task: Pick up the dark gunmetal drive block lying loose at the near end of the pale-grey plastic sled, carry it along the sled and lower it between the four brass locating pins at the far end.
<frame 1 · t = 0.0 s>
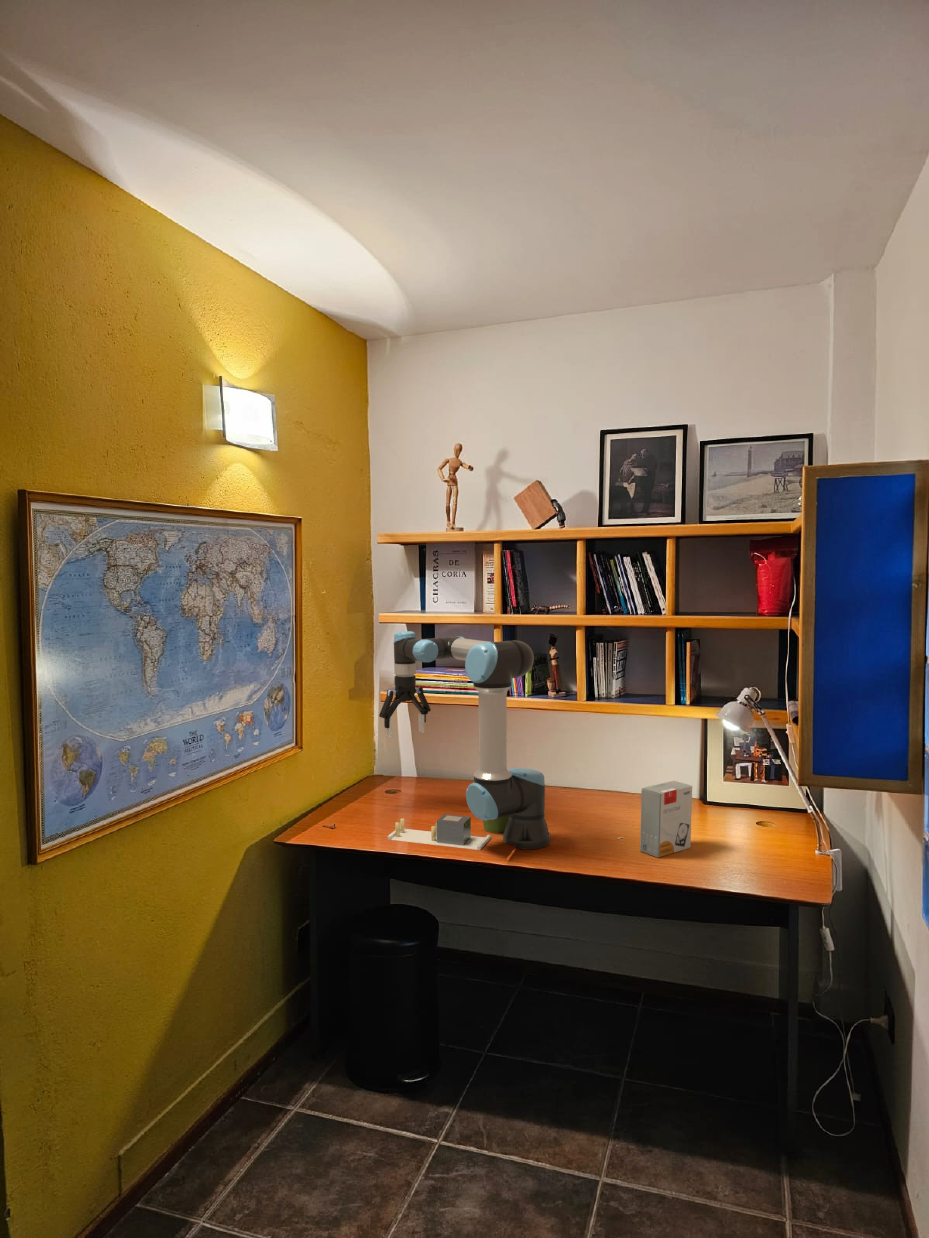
hand: (405, 734, 284), 28 cm above the table, fingers open, 13 cm apart
drive: (453, 840, 253), point 1 cm above the table, touching tray
hard drive box: (665, 850, 247), on the table
tray: (439, 841, 255), on the table
plant pot: (495, 832, 264), on the table
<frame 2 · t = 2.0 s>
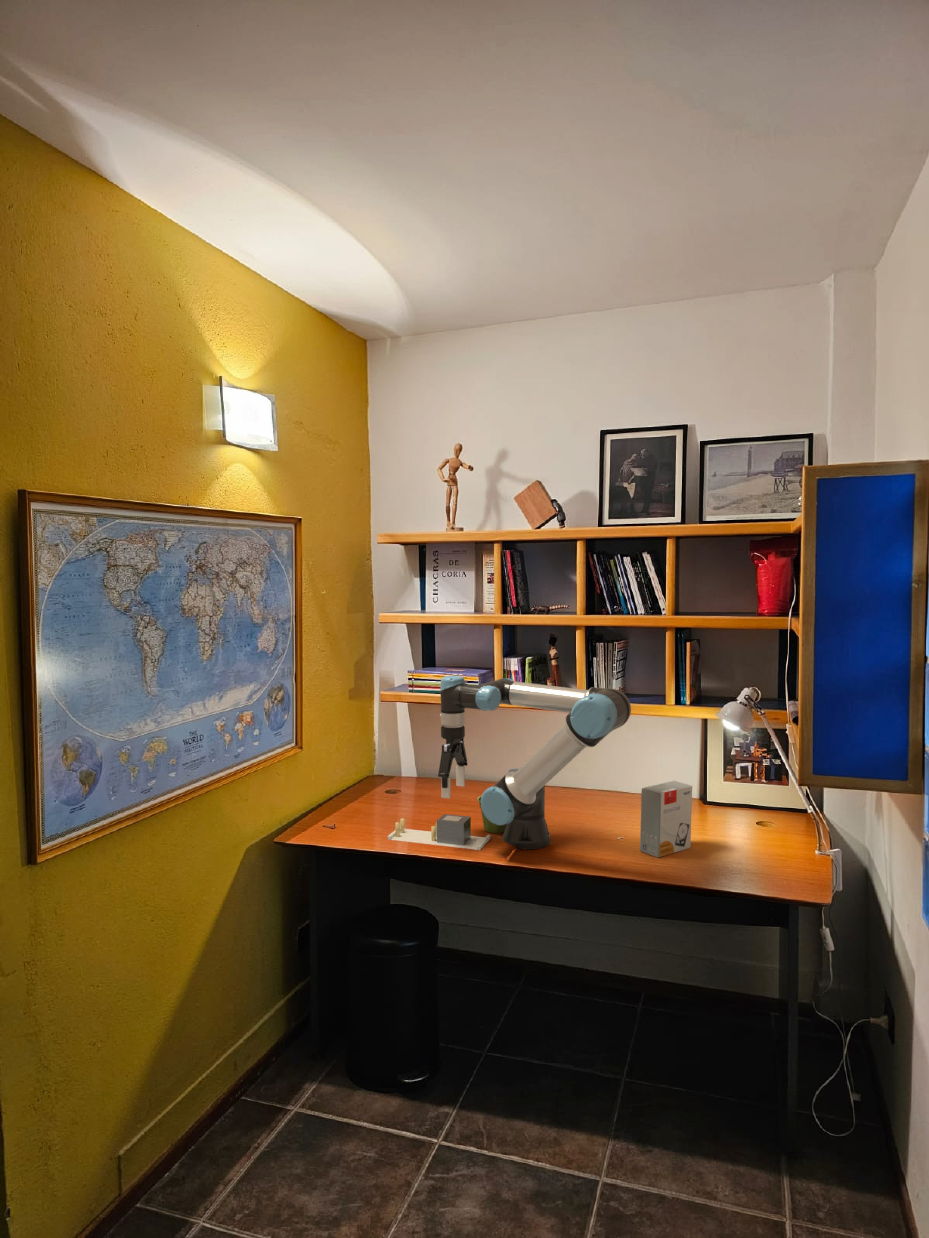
hand: (453, 791, 252), 17 cm above the table, fingers open, 13 cm apart
nothing on the table moved.
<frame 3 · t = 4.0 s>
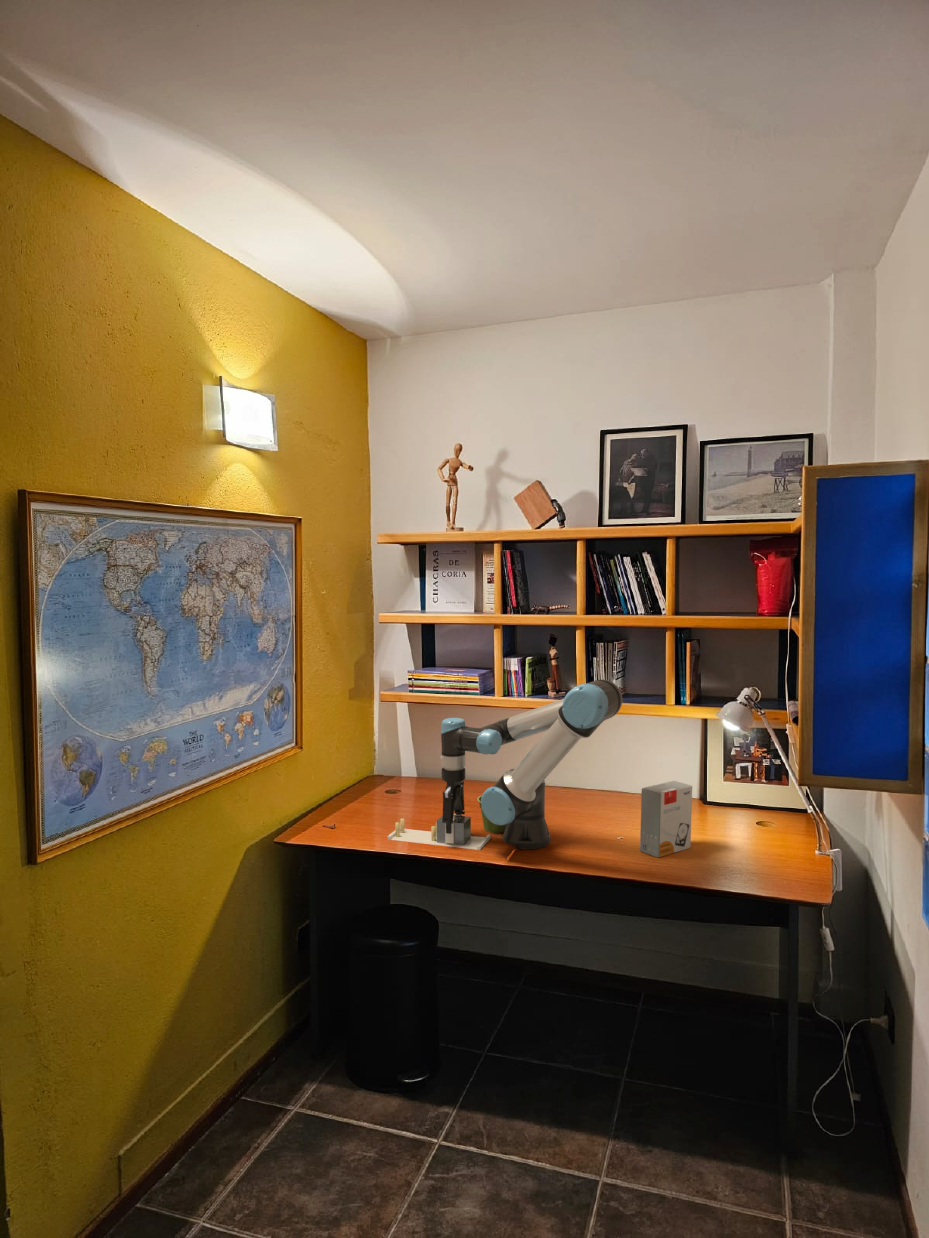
hand: (453, 838, 253), 2 cm above the table, fingers closed on drive, 7 cm apart
drive: (453, 840, 253), point 1 cm above the table, touching gripper, tray
everything else where it was.
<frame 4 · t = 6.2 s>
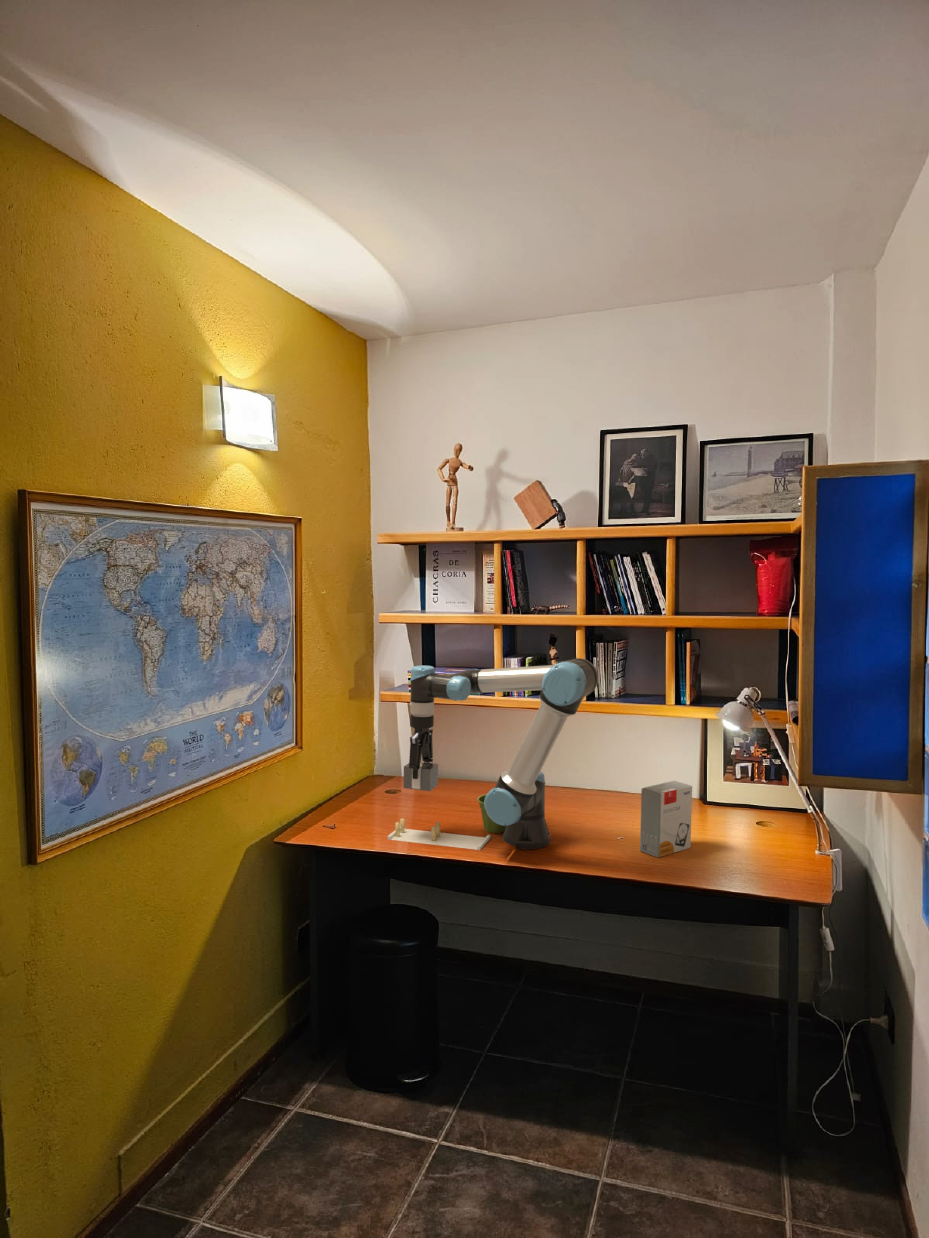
hand: (420, 784, 256), 18 cm above the table, fingers closed on drive, 7 cm apart
drive: (420, 786, 256), point 17 cm above the table, touching gripper
everything else where it was.
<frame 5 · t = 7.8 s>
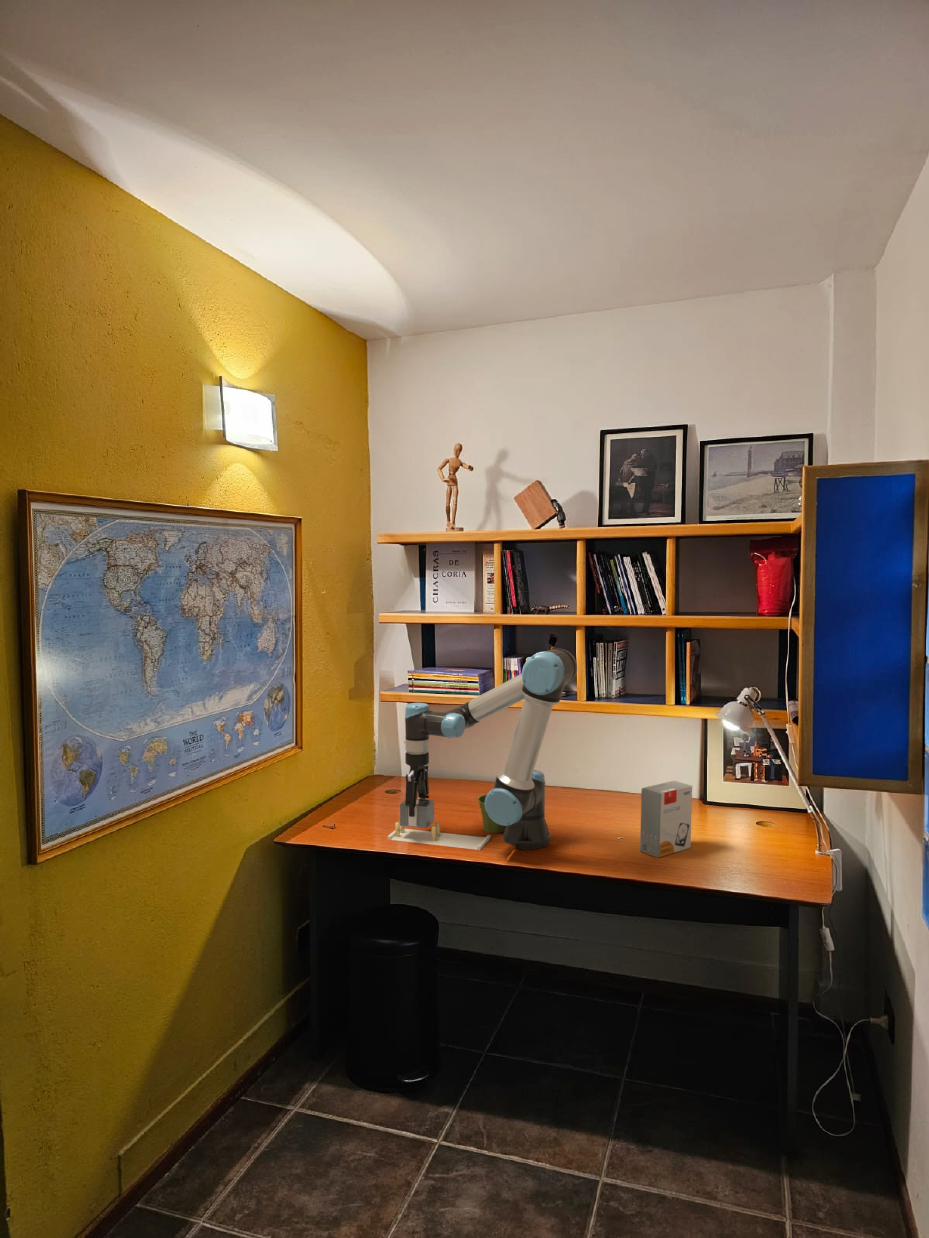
hand: (417, 821, 257), 6 cm above the table, fingers closed on drive, 7 cm apart
drive: (417, 823, 257), point 5 cm above the table, touching gripper
everything else where it was.
when the fingers open (3 cm above the table, at t = 8.7 s): drive drops 1 cm, resting on tray.
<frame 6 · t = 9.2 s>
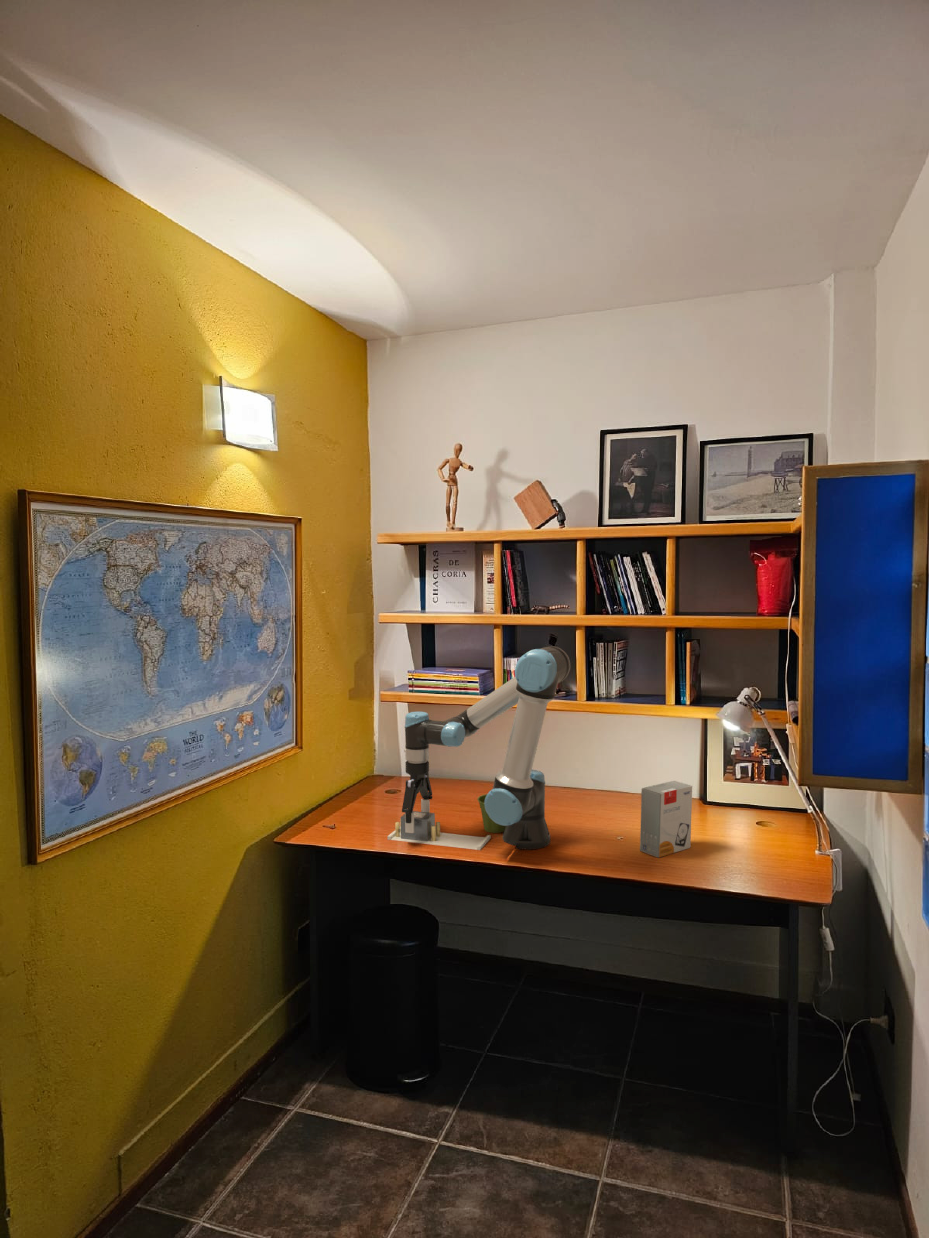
hand: (417, 825, 257), 4 cm above the table, fingers open, 13 cm apart
drive: (418, 836, 257), point 1 cm above the table, touching tray
everything else where it was.
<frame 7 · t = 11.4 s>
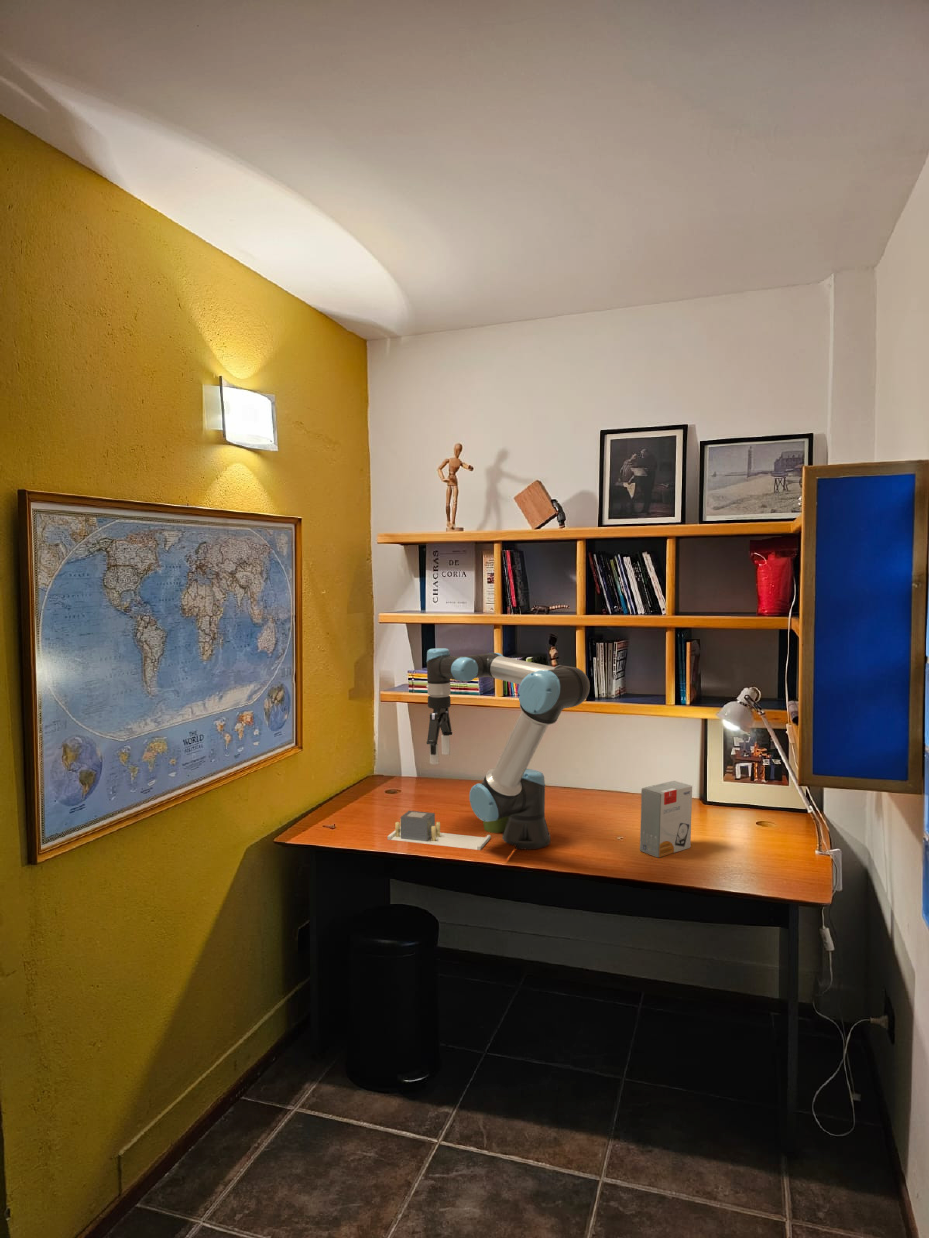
hand: (440, 759, 264), 24 cm above the table, fingers open, 13 cm apart
nothing on the table moved.
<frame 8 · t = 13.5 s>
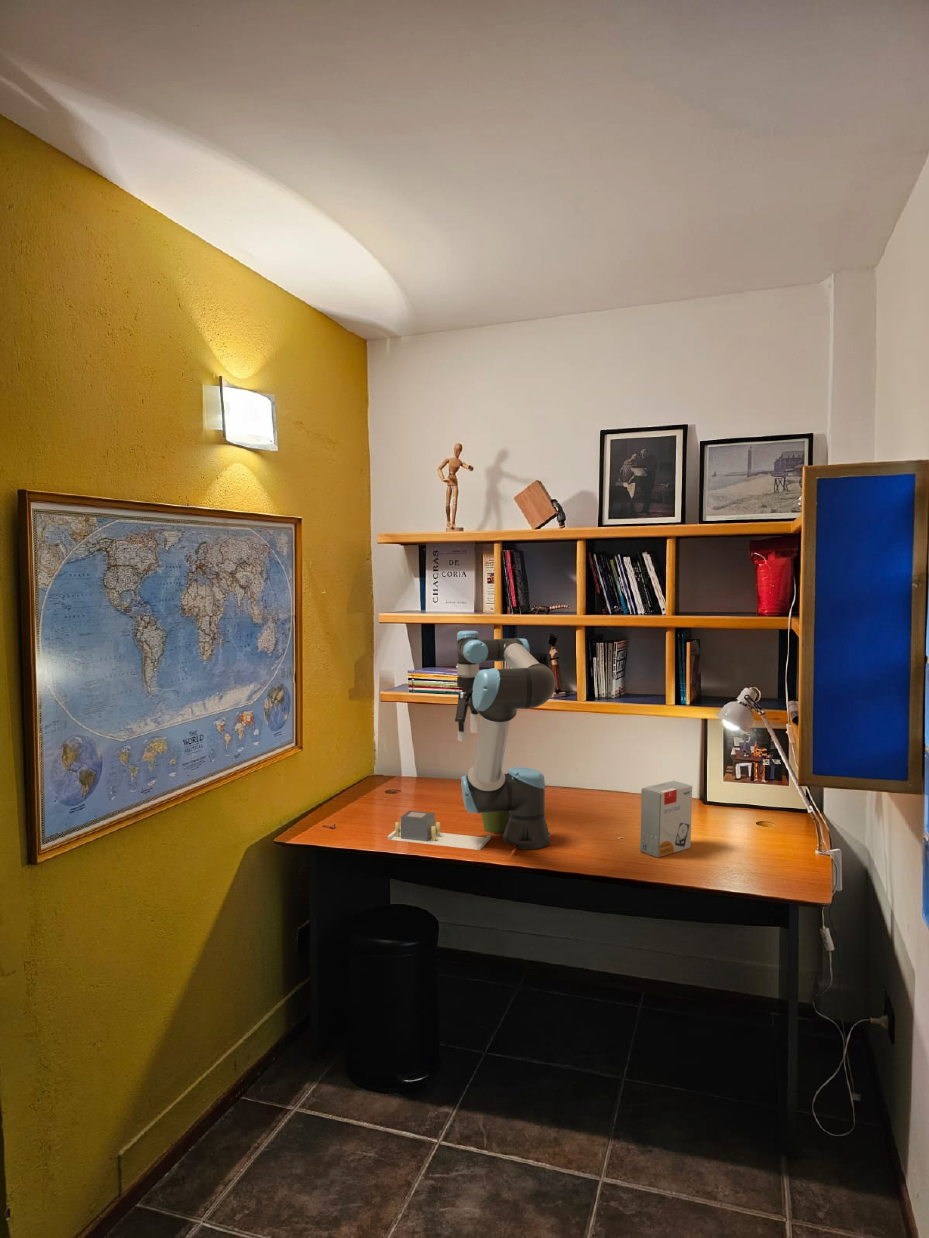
hand: (468, 736, 277), 29 cm above the table, fingers open, 13 cm apart
nothing on the table moved.
at the end: drive 0.0 cm from the target spot on the tray, point 1.0 cm above the tray's base; drive tilted 0°; the gripper is holding nothing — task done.
